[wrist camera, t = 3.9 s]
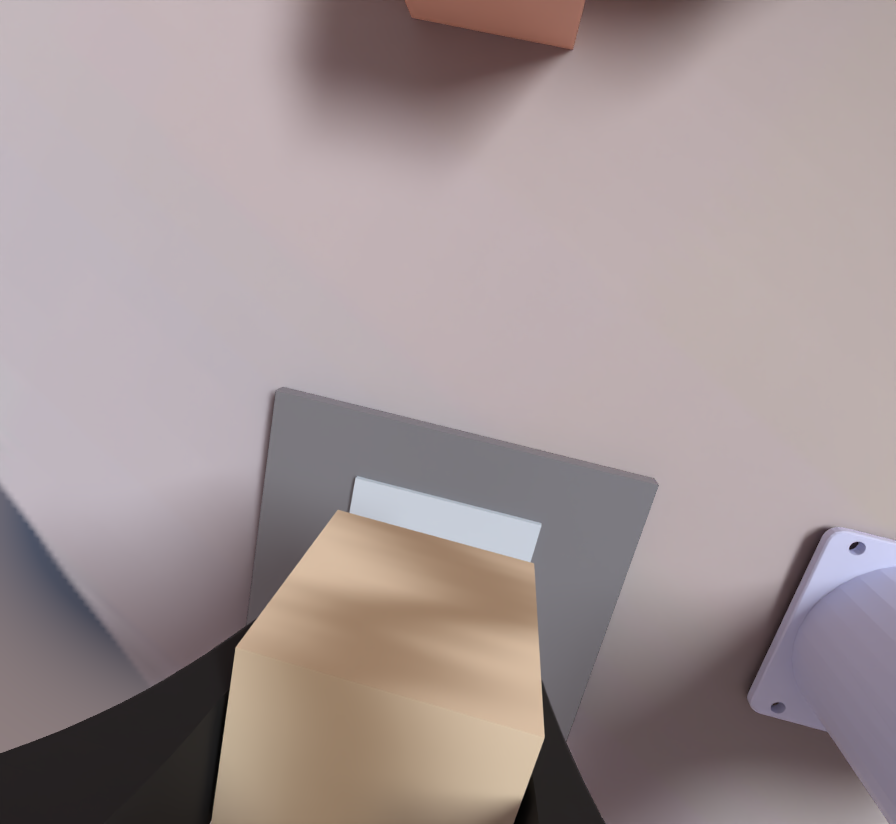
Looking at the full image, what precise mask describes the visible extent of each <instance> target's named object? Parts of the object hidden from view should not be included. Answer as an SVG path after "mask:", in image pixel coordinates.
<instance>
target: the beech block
mask: <svg viewBox="0 0 896 824" xmlns="http://www.w3.org/2000/svg"><path fill="white" fill-rule="evenodd" d="M544 738H545V734H544V718H543V701H542V685H541V668H540V652H539V635H538V619H537V602H536V586H535V569H534V563H531V562H527V561H524V560H520V559H516V558H513V557H509V556H505V555H502V554H498V553H494V552H491V551H487V550H483V549H480V548H476V547H472V546H469V545H465V544H461V543H458V542H454V541H450V540H447V539H443V538H439V537H436V536H432V535H428V534H425V533H421V532H418V531H414V530H410V529H407V528H403V527H399V526H396V525H392V524H388V523H385V522H381V521H377V520H374V519H370V518H366V517H363V516H359V515H355V514H352V513H348V512H344V511H341V510H337V511H336V513H335V514H334V516H333V517H332V518H331V520H330V521H329V522H328V524H327V525H326V526H325V528H324V529H323V530H322V532H321V533H320V534H319V536H318V537H317V538H316V540H315V541H314V542H313V544H312V545H311V546H310V548H309V549H308V551H307V552H306V553H305V555H304V556H303V557H302V559H301V560H300V561H299V563H298V564H297V565H296V567H295V568H294V569H293V571H292V572H291V573H290V575H289V576H288V577H287V579H286V580H285V582H284V583H283V584H282V586H281V587H280V588H279V590H278V591H277V592H276V594H275V595H274V596H273V598H272V599H271V600H270V602H269V603H268V604H267V606H266V607H265V608H264V610H263V611H262V612H261V614H260V615H259V617H258V618H257V619H256V621H255V622H254V623H253V625H252V626H251V627H250V629H249V630H248V631H247V633H246V634H245V635H244V637H243V638H242V639H241V641H240V642H239V643H238V645H237V646H236V649H235V656H234V663H233V670H232V677H231V684H230V692H229V699H228V706H227V713H226V720H225V727H224V735H223V742H222V749H221V756H220V763H219V770H218V778H217V785H216V792H215V799H214V806H213V813H212V820H211V824H513V823H514V821H515V818H516V815H517V812H518V810H519V807H520V804H521V801H522V799H523V796H524V793H525V790H526V788H527V785H528V782H529V779H530V777H531V774H532V771H533V768H534V766H535V763H536V760H537V757H538V755H539V752H540V749H541V746H542V744H543V741H544Z"/></svg>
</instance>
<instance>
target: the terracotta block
mask: <svg viewBox="0 0 896 824" xmlns="http://www.w3.org/2000/svg"><path fill="white" fill-rule="evenodd" d="M585 1H586V0H405V2H406V5H407V7H408V10H409V12H410V14H411V17H412V18H415V19H420V20H425V21H430V22H435V23H440V24H445V25H450V26H455V27H460V28H465V29H470V30H476V31H481V32H486V33H491V34H496V35H501V36H506V37H511V38H516V39H521V40H526V41H531V42H536V43H541V44H546V45H551V46H556V47H561V48H566V49H571V50H573V47H574V43H575V39H576V35H577V32H578V28H579V24H580V20H581V16H582V12H583V8H584V4H585Z"/></svg>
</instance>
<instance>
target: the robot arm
mask: <svg viewBox="0 0 896 824" xmlns="http://www.w3.org/2000/svg"><path fill="white" fill-rule="evenodd" d="M854 542H859V543H858V545H857V547H856V548H854V549H849V546H850V545H851V544H852V543H854ZM257 618H258V617H257ZM257 618H256V619H257ZM256 619H255V620H253V621H252V622H251V623H249V624H248V625H247V626H245V627H244V628H242V629H241V630H240V631H238V632H237V633H236V634H234V635H233V636H231V637H230V638H228V639H227V640H226V641H224V642H223V643H221V644H220V645H218V646H217V647H215V648H214V649H212V650H211V651H209V652H208V653H207V654H205V655H203V656H202V657H200V658H199V659H197V660H196V661H194V662H192V663H191V664H189V665H188V666H186V667H184V668H183V669H181V670H179V671H178V672H176V673H175V674H173V675H171V676H170V677H168V678H166V679H165V680H163V681H161V682H159V683H158V684H156V685H154V686H152V687H151V688H149V689H147V690H145V691H143V692H141V693H139V694H138V695H136V696H134V697H132V698H130V699H128V700H126V701H124V702H122V703H120V704H118V705H116V706H114V707H112V708H110V709H108V710H106V711H104V712H101V713H100V714H97V715H95V716H93V717H90V718H88V719H86V720H84V721H82V722H79V723H77V724H75V725H73V726H70V727H68V728H66V729H64V730H61V731H59V732H56V733H54V734H51V735H49V736H46V737H43V738H41V739H38V740H36V741H33V742H30V743H28V744H25V745H22V746H19V747H17V748H14V749H11V750H9V751H6V752H3V753H0V824H210V822H211V820H212V813H213V806H214V799H215V792H216V785H217V778H218V770H219V763H220V756H221V749H222V742H223V735H224V727H225V720H226V713H227V706H228V699H229V692H230V684H231V677H232V670H233V663H234V656H235V649H236V646H237V645H238V643H239V642H240V641H241V639H242V638H243V637H244V635H245V634H246V633H247V631H248V630H249V629H250V627H251V626H252V625H253V623H254V622H255V621H256ZM541 685H542V701H543V718H544V734H545V738H544V741H543V744H542V746H541V749H540V752H539V755H538V757H537V760H536V763H535V766H534V768H533V771H532V774H531V777H530V779H529V782H528V785H527V788H526V790H525V793H524V796H523V799H522V801H521V804H520V807H519V810H518V812H517V815H516V818H515V821H514V823H513V824H605V822H604V820H603V818H602V817H601V815H600V813H599V811H598V809H597V807H596V805H595V803H594V801H593V799H592V797H591V795H590V793H589V791H588V789H587V787H586V785H585V783H584V781H583V779H582V777H581V775H580V772H579V770H578V768H577V766H576V764H575V761H574V759H573V757H572V755H571V752H570V750H569V748H568V746H567V743H566V741H565V739H564V736H563V734H562V731H561V729H560V726H559V724H558V721H557V719H556V716H555V714H554V711H553V708H552V706H551V703H550V700H549V698H548V695H547V692H546V689H545V686H544V683H543V681H542V679H541ZM747 699H748V702H749V704H750V706H751V708H752V709H753V710H754V711H755V712H757V713H759V714H763V715H767V716H771V717H774V718H778V719H782V720H785V721H789V722H793V723H796V724H800V725H804V726H808V727H811V728H815V729H819V730H822V731H826V732H828V733H829V735H830V736H831V738H832V739H833V741H834V742H835V744H836V745H837V746H838V748H839V749H840V751H841V752H842V754H843V755H844V757H845V758H846V760H847V761H848V763H849V764H850V766H851V767H852V769H853V770H854V772H855V773H856V775H857V776H858V778H859V779H860V781H861V782H862V784H863V785H864V787H865V788H866V790H867V791H868V793H869V794H870V796H871V797H872V799H873V800H874V802H875V803H876V805H877V806H878V808H879V809H880V811H881V812H882V814H883V815H884V816H885V818H886V819H887V821H888V822H889V824H896V540H892V539H888V538H884V537H880V536H876V535H872V534H868V533H864V532H860V531H856V530H852V529H848V528H844V527H834V528H830V529H829V530H827V531H826V532H825V533H824V534H823V536H822V538H821V540H820V542H819V544H818V546H817V548H816V550H815V552H814V554H813V557H812V559H811V561H810V563H809V565H808V567H807V569H806V571H805V574H804V576H803V578H802V580H801V582H800V584H799V586H798V588H797V591H796V593H795V595H794V597H793V599H792V601H791V603H790V605H789V608H788V610H787V612H786V614H785V616H784V618H783V620H782V622H781V625H780V627H779V629H778V631H777V633H776V635H775V637H774V639H773V641H772V644H771V646H770V648H769V650H768V652H767V654H766V656H765V658H764V661H763V663H762V665H761V667H760V669H759V671H758V673H757V675H756V678H755V680H754V682H753V684H752V686H751V688H750V690H749V692H748V696H747ZM776 702H779V704H777V705H772V704H773V703H776Z"/></svg>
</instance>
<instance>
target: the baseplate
mask: <svg viewBox="0 0 896 824" xmlns="http://www.w3.org/2000/svg"><path fill="white" fill-rule="evenodd" d="M658 486H659V485H658V483H657V482H656V480H655V479H654V478H650V477H646V476H642V475H638V474H634V473H630V472H626V471H622V470H618V469H614V468H610V467H606V466H602V465H598V464H593V463H589V462H585V461H581V460H577V459H573V458H569V457H565V456H561V455H557V454H553V453H549V452H545V451H541V450H537V449H533V448H529V447H525V446H520V445H516V444H512V443H508V442H504V441H500V440H496V439H492V438H488V437H484V436H480V435H476V434H472V433H468V432H464V431H460V430H456V429H452V428H447V427H443V426H439V425H435V424H431V423H427V422H423V421H419V420H415V419H411V418H407V417H403V416H399V415H395V414H391V413H387V412H383V411H379V410H375V409H370V408H366V407H362V406H358V405H354V404H350V403H346V402H342V401H338V400H334V399H330V398H326V397H322V396H318V395H314V394H310V393H306V392H302V391H297V390H293V389H289V388H285V387H282V388H280V389H278V390H276V394H275V402H274V410H273V418H272V426H271V433H270V441H269V449H268V457H267V465H266V473H265V481H264V489H263V497H262V504H261V512H260V520H259V528H258V536H257V544H256V552H255V560H254V567H253V575H252V583H251V591H250V599H249V607H248V615H247V623H246V626H247V625H248V624H249V623H251V622H252V621H253V620H255V619H256V618H257V617H259V615H260V614H261V612H262V611H263V610H264V608H265V607H266V606H267V604H268V603H269V602H270V600H271V599H272V598H273V596H274V595H275V594H276V592H277V591H278V590H279V588H280V587H281V586H282V584H283V583H284V582H285V580H286V579H287V577H288V576H289V575H290V573H291V572H292V571H293V569H294V568H295V567H296V565H297V564H298V563H299V561H300V560H301V559H302V557H303V556H304V555H305V553H306V552H307V551H308V549H309V548H310V546H311V545H312V544H313V542H314V541H315V540H316V538H317V537H318V536H319V534H320V533H321V532H322V530H323V529H324V528H325V526H326V525H327V524H328V522H329V521H330V520H331V518H332V517H333V516H334V514H335V513H336V511H337V510H341V511H344V512H348V513H352V514H355V515H359V516H363V517H366V518H370V519H374V520H377V521H381V522H385V523H388V524H392V525H396V526H399V527H403V528H407V529H410V530H414V531H418V532H421V533H425V534H428V535H432V536H436V537H439V538H443V539H447V540H450V541H454V542H458V543H461V544H465V545H469V546H472V547H476V548H480V549H483V550H487V551H491V552H494V553H498V554H502V555H505V556H509V557H513V558H516V559H520V560H524V561H527V562H531V563H534V569H535V586H536V602H537V619H538V635H539V652H540V668H541V679H542V681H543V683H544V686H545V689H546V692H547V695H548V698H549V700H550V703H551V706H552V708H553V711H554V714H555V716H556V719H557V721H558V724H559V726H560V729H561V731H562V734H563V736H564V739H565V741H567V738H568V736H569V733H570V730H571V727H572V724H573V722H574V719H575V716H576V713H577V711H578V708H579V705H580V702H581V699H582V697H583V694H584V691H585V688H586V686H587V683H588V680H589V677H590V674H591V672H592V669H593V666H594V663H595V661H596V658H597V655H598V652H599V650H600V647H601V644H602V641H603V638H604V636H605V633H606V630H607V627H608V625H609V622H610V619H611V616H612V613H613V611H614V608H615V605H616V602H617V600H618V597H619V594H620V591H621V589H622V586H623V583H624V580H625V577H626V575H627V572H628V569H629V566H630V564H631V561H632V558H633V555H634V552H635V550H636V547H637V544H638V541H639V539H640V536H641V533H642V530H643V527H644V525H645V522H646V519H647V516H648V514H649V511H650V508H651V505H652V503H653V500H654V497H655V494H656V491H657V489H658Z"/></svg>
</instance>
